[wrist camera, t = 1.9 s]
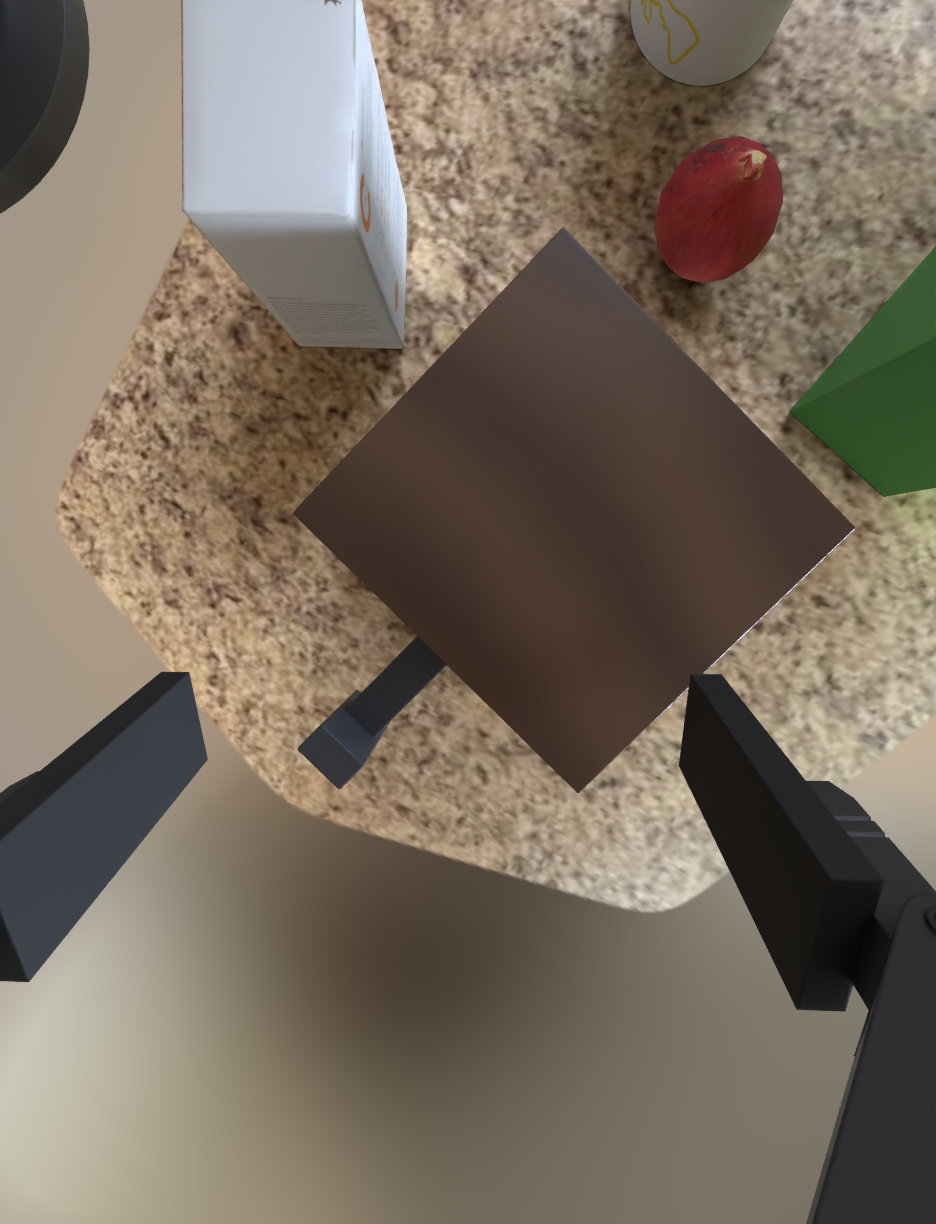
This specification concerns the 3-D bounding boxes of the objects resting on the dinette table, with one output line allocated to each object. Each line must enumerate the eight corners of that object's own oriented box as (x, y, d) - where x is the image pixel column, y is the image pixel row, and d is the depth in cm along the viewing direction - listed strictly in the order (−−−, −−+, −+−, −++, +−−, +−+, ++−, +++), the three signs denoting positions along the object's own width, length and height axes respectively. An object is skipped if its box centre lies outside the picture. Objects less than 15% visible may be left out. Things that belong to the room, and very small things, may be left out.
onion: (619, 235, 33) (663, 127, 25) (710, 180, 32) (784, 52, 24) (669, 327, 33) (728, 250, 25) (759, 273, 33) (849, 177, 25)
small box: (298, 204, 33) (177, -35, 20) (408, 206, 33) (360, -32, 20) (296, 350, 34) (177, 212, 20) (405, 353, 33) (355, 216, 20)
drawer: (428, 777, 35) (407, 856, 25) (297, 650, 35) (226, 682, 25) (672, 537, 33) (748, 524, 24) (538, 402, 33) (561, 334, 24)
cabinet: (542, 710, 35) (578, 794, 22) (364, 533, 34) (291, 512, 21) (712, 543, 34) (856, 527, 21) (531, 359, 33) (563, 226, 20)
